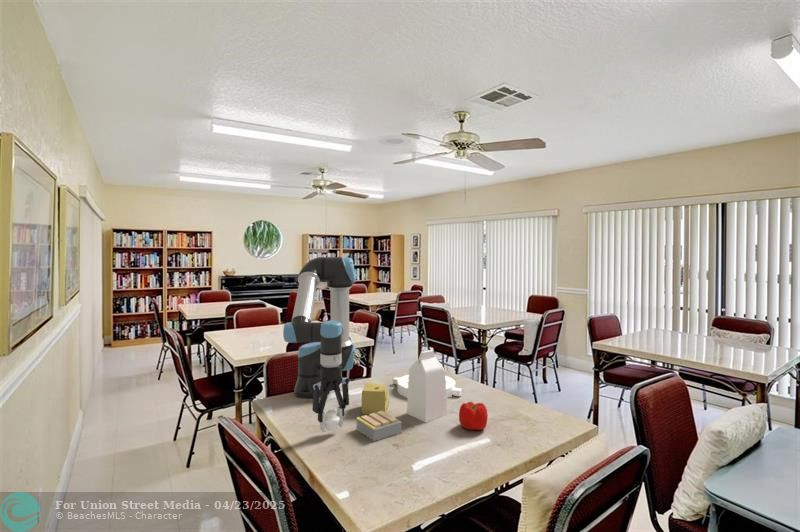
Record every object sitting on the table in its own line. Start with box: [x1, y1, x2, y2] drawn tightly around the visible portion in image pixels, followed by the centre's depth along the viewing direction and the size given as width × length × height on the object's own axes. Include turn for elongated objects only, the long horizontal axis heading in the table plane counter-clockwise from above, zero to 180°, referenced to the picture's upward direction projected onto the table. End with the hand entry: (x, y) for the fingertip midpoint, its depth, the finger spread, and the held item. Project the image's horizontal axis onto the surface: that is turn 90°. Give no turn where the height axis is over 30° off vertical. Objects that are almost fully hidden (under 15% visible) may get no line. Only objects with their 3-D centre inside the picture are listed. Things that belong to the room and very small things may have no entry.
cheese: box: [361, 382, 390, 415], centre depth 168 cm, size 10×11×10 cm
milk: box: [406, 349, 448, 423], centre depth 164 cm, size 12×12×26 cm
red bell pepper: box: [458, 401, 489, 431], centre depth 152 cm, size 11×12×9 cm
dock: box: [356, 411, 402, 442], centre depth 148 cm, size 12×12×5 cm
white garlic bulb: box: [325, 409, 340, 432], centre depth 144 cm, size 6×6×7 cm
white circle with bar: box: [392, 374, 463, 399], centre depth 194 cm, size 28×28×5 cm
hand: (331, 427), depth 145 cm, fingers closed on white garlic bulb, 6 cm apart
